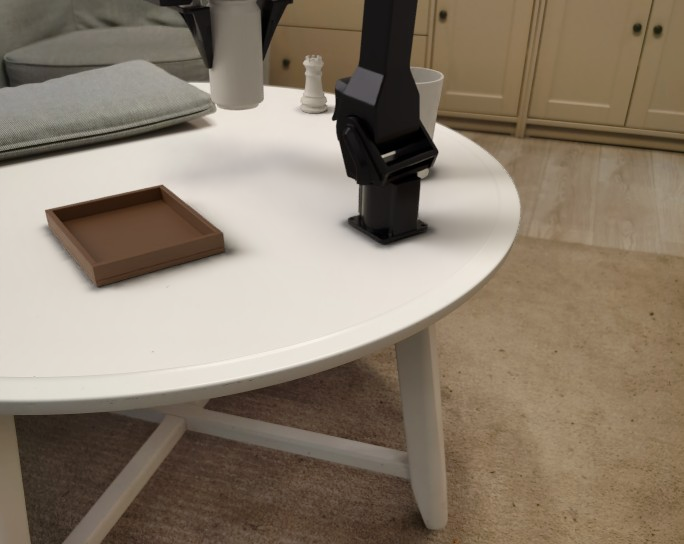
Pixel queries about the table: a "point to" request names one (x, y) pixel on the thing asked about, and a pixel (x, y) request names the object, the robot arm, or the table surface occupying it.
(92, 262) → the tray
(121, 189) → the table surface
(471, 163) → the table surface
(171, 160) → the table surface
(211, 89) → the beverage can
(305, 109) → the rook chess piece
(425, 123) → the cup
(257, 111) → the table surface
